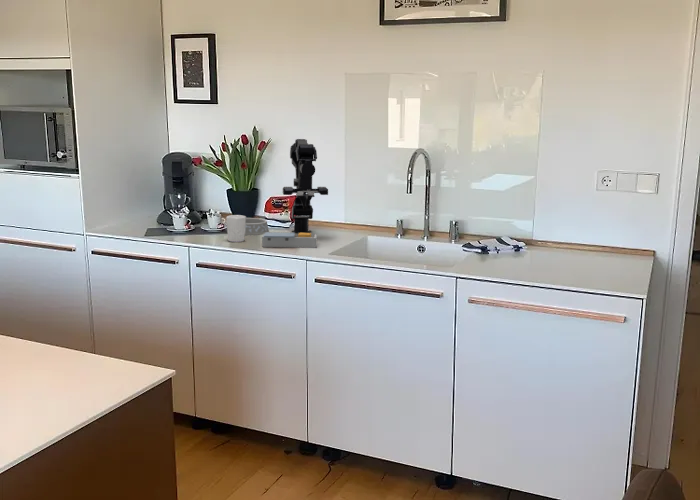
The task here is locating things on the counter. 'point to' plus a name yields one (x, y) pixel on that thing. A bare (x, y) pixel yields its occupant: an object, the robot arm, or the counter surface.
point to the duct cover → (279, 234)
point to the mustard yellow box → (304, 235)
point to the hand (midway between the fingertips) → (305, 211)
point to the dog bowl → (255, 226)
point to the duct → (289, 242)
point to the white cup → (236, 228)
